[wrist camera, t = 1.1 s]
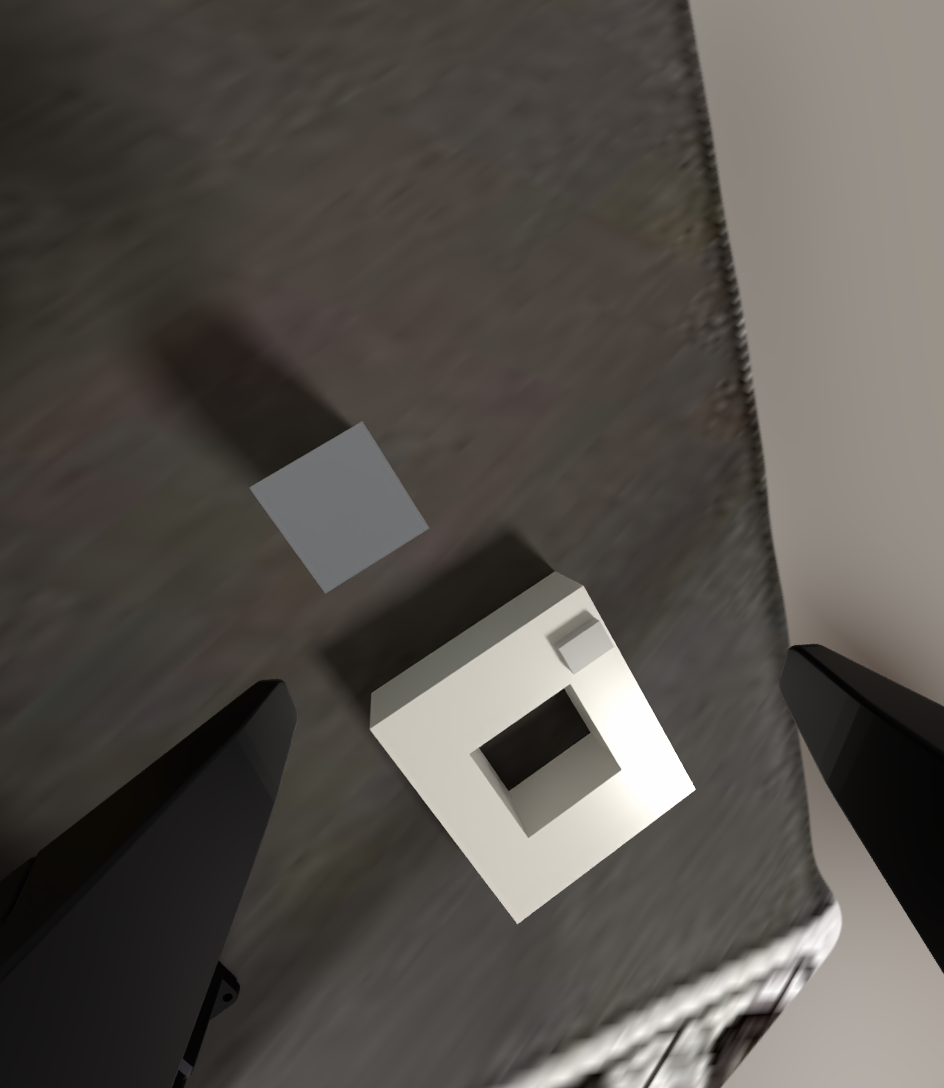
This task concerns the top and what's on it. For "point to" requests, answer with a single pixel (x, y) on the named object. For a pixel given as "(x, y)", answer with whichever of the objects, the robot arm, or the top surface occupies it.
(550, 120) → the top surface
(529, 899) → the socket plate
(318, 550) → the plug
